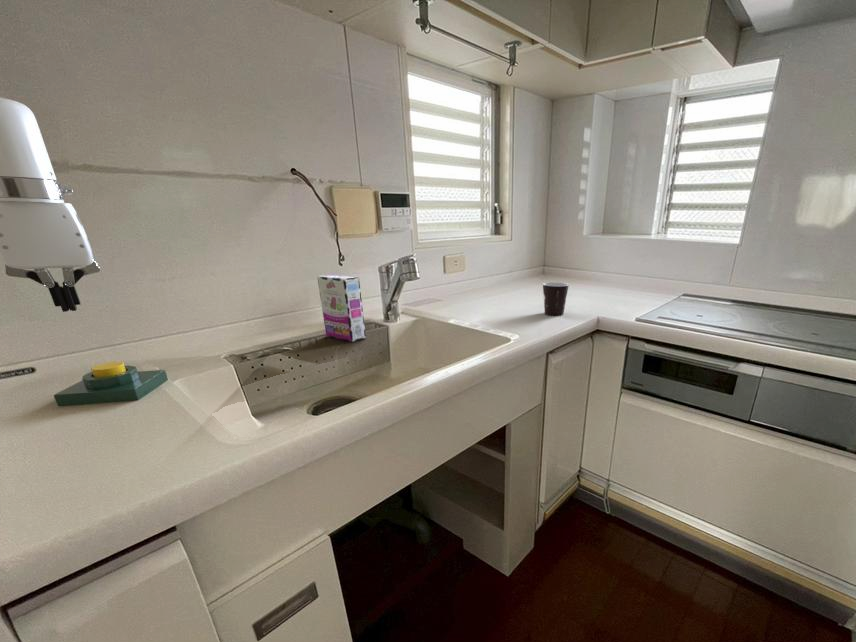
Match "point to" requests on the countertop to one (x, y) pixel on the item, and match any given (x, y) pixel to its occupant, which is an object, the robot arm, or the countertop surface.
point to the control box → (111, 387)
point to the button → (108, 369)
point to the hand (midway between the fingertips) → (70, 309)
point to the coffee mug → (555, 298)
